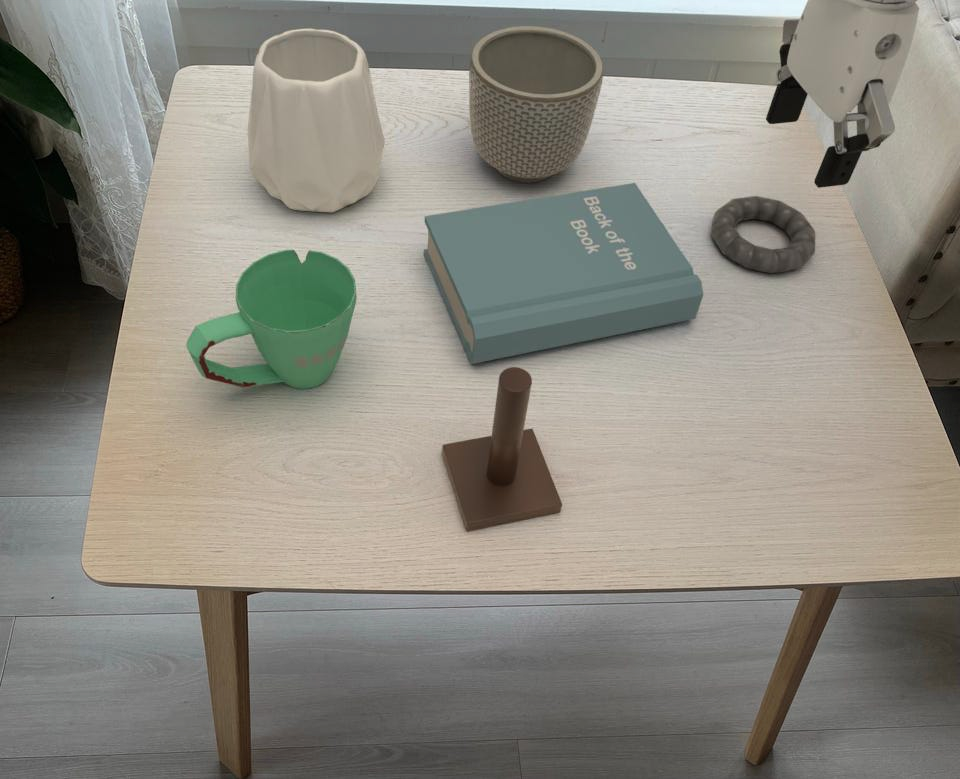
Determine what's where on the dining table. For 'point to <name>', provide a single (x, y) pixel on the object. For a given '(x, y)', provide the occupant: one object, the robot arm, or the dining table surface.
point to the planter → (532, 100)
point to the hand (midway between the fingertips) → (804, 151)
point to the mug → (284, 321)
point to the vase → (314, 121)
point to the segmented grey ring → (760, 256)
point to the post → (502, 464)
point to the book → (558, 271)
